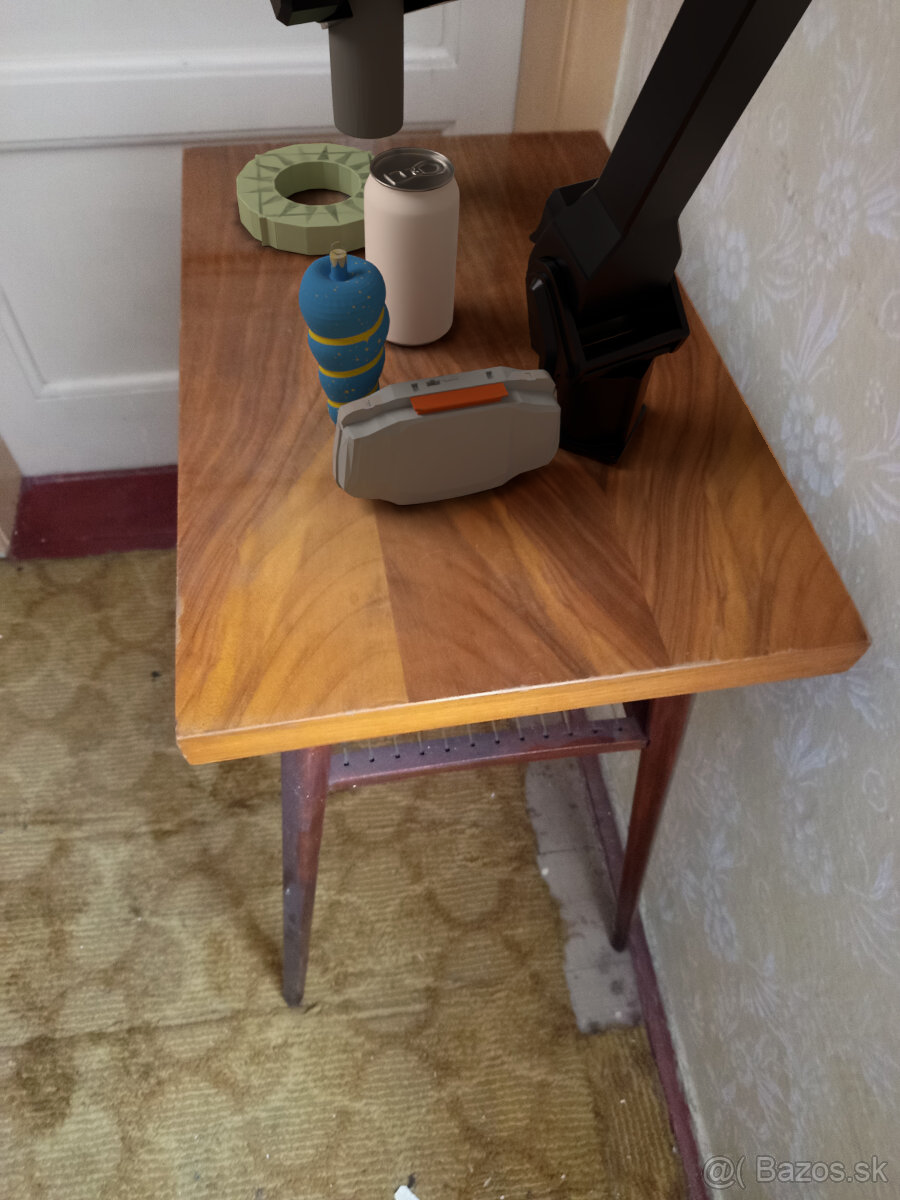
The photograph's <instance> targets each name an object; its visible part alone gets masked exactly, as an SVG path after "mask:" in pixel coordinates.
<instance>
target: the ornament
mask: <svg viewBox="0 0 900 1200" xmlns="http://www.w3.org/2000/svg"><path fill="white" fill-rule="evenodd" d="M335 243H341V242H335ZM333 244H334V243H333ZM333 244H332V245H333ZM341 244H343V243H341ZM343 246H344V244H343ZM331 250H332V246H331ZM344 250H345V246H344ZM344 250H342V249H335V250H332V251H331V253H330V254H328V255H325V256H322V257H319V258H317V259H315V260H314V261H313V262H312V263H311V264H310V265H309V266H308V267H307V269H306V270H305V272H304V274H303V275H302V278H301V282H300V286H299V291H298V305H299V310H300V313H301V316H302V318H303V320H304V322H305V324H306V326H307V327H308V332H307V344H308V347H309V349H310V351H311V354H312V355H313V357H314V359H315V360H316V362H317V363H318V365H319V366H318V379H319V383H320V385H321V387H322V390H323V391H324V394H325V395H326V397H327V402H326V408H327V412H328V415H329V418H330V419H331V421H332V423H333V424H334V425H335V426H336V424H337V417H338V410H339V408H340V407H341V406H342V405H346V404H348V403H350V402H353V401H356V400H359V399H362V398H365V397H367V396H369V395H371V394H373V393H375V392H377V391H379V390H381V389H380V387H381V386H380V380H379V379H380V377H381V375H382V373H383V370H384V367H385V362H386V346H385V343H386V342H387V341H386V338H387V335H388V332H389V326H390V317H389V311H388V308H387V306H386V304H385V299H386V286H385V282H384V279H383V276H382V274H381V273H380V271H379V270H378V268H377V267H376V266H375V265H374V264H373V263H371V262H369V261H367V260H366V259H364V258H362V257H359V256H355V255H353V254H347V253H348V252H346V251H344Z"/></svg>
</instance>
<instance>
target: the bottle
mask: <svg viewBox="0 0 900 1200" xmlns="http://www.w3.org/2000/svg"><path fill="white" fill-rule="evenodd" d="M348 1H349V4H350V7H351V10H352V13H353V18H351V19H349V20H347V21H344V22H342V23H340V24H338V25H335V26H333V27H331V28H328V29H327V33H328V34H327V35H328V46H329V47H328V49H329V51H328V52H329V67H330V83H331V101H332V114H333V123H334V126H335V128H336V129H337V130H338V132H340V133H342V134H344V135H345V136H348V137H351V138H354V139H360V140H361V139H362V140H378V139H379V140H380V139H384V138H388V137H391V136H394V135H395V134H397V133H399V132H400V131H401V130H402V128H403V126H404V117H405V115H404V114H405V113H404V112H405V111H404V110H405V106H404V105H405V15H404V0H348Z"/></svg>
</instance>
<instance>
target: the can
mask: <svg viewBox="0 0 900 1200" xmlns="http://www.w3.org/2000/svg"><path fill="white" fill-rule="evenodd" d="M374 156H375V157H374V158H373V160H372V161H371V163H370V167H369V169H370V175H369V177H368V179H367V181H366V184H365V187H364V223H365V247H364V250H365V251H364V253H365V254H364V255H365V260H367V261H369V262H371V263H373V264H374V265H375V266H376V267H377V268H378V270H379V271H380V273H381V274H382V276H383V279H384V282H385V286H386V299H385V304H386V306H387V308H388V311H389V317H390V326H389V332H388V335H387V338H386V341H385V342H388V343H391V344H393V345H397V346H402V347H422V346H425V345H429V344H432V343H434V342H436V341H438V340H439V339H441V338H443V336H445V335H447V333H448V332H449V331H450V329H451V327H452V325H453V321H454V308H455V307H454V306H455V291H456V275H457V258H458V257H457V255H458V239H459V223H460V222H459V221H460V197H461V196H460V188H459V185H458V182H457V180H456V178H455V173H456V168H455V165H454V163H453V162H452V160H451V159H450V158H449V157H447V156H446V155H445V154H443V153H441V152H438V151H436V150H434V149H430V148H426V147H421V146H420V147H419V146H400V147H399V146H398V147H395V148H389V149H386V150H385V151H382V152H380V153H378V154H376V155H374Z"/></svg>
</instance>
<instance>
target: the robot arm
mask: <svg viewBox="0 0 900 1200" xmlns="http://www.w3.org/2000/svg"><path fill="white" fill-rule="evenodd" d="M458 1H459V0H404V16H405V15H409V14H413V13H417V12H420V11H423V10H427V9H432V8H434V7H438V6H442V5H447V4H450V3H454V2H458ZM269 2H270V6H271V8H272V11H273V14H274V17H275V19H276V20H277V21H278V22H280V23H281V24H282V25H284V26H285V27H292V26H293V27H294V26H298V25H304V24H309V23H317V24H319V25H320V27H321V29H322V30H328V28H331V27H333V26H335V25H338V24H340V23H342V22H344V21H347V20H349V19H351V18H353V13H352V10H351V7H350V4H349V1H348V0H269ZM812 2H813V0H683V1H682V3H681V6H680V7H679V9H678V12H677V14H676V16H675V18H674V20H673V22H672V23H671V26H670V28H669V30H668V32H667V34H666V36H665V39H664V41H663V43H662V45H661V47H660V50H658V51H659V52H658V54H657V56H656V57H655V60H654V62H653V64H652V66H651V68H650V70H649V72H648V75H647V77H646V79H645V80H644V83H643V85H642V87H641V89H640V90H639V93H638V95H637V98H636V100H635V101H634V104H633V106H632V108H631V110H630V112H629V114H628V116H627V118H626V121H625V122H624V124H623V127H622V129H621V131H620V133H619V135H618V138H617V140H616V142H615V144H614V146H613V148H612V149H611V152H610V154H609V156H608V159H607V160H606V163H605V165H604V166H603V169H602V171H601V173H600V175H599V176H597V177H593V178H590V179H586V180H582V181H578V182H573V183H571V184H567V185H563V186H559V187H556V188H554V189H553V190H552V191H551V193H550V195H549V196H548V197H547V199H546V201H545V203H544V207H543V209H542V210H543V211H542V215H541V218H540V221H539V223H538V225H537V227H536V229H535V230H534V231H532V233H530V234H529V235H528V239H529V241H530V242H531V243H533V244H534V245H533V246H532V248H531V251H530V253H529V258H528V260H527V270H526V273H525V278H524V280H525V281H524V283H525V294H526V309H527V322H528V323H527V324H528V337H529V342H530V344H529V345H530V348H531V350H532V351H533V352H534V353H535V354H536V355H537V356H538V364H537V370H545V371H547V372H548V373H549V374H550V376H551V378H552V380H553V381H554V383H555V385H556V386H555V388H556V390H557V403H558V404H559V406H560V408H561V412H560V434H559V445H558V447H561V448H565V449H567V450H570V451H573V452H575V453H577V454H581V455H583V456H586V457H589V458H591V459H594V460H597V461H600V462H603V463H606V464H608V465H611V466H613V465H617V464H619V462H620V461H621V459H622V458H623V455H624V453H625V452H626V450H627V448H628V447H629V444H630V442H631V441H632V439H633V437H634V435H635V434H636V431H637V430H638V428H639V425H640V424H641V422H642V420H643V418H644V417H645V415H646V413H647V410H648V409H647V408H648V406H647V404H646V403H644V402H645V398H646V394H647V392H648V391H647V390H648V388H649V384H650V381H651V380H650V379H651V376H652V373H653V369H654V365H655V362H656V358H657V357H661V356H663V355H667V354H674V353H677V352H678V351H679V350H680V349H681V347H682V346H683V345H684V343H685V342H686V341H687V340H688V338H689V336H690V335H691V328H690V325H689V321H688V317H687V314H686V313H687V312H686V310H685V306H684V303H683V299H682V295H681V291H680V287H679V284H678V280H677V277H676V272H675V271H676V269H677V267H678V264H679V262H680V260H681V258H682V254H683V250H684V249H683V242H682V235H681V228H680V221H679V219H680V217H681V215H682V213H683V211H684V210H685V208H686V206H687V204H688V203H689V201H690V199H691V198H692V196H693V195H694V193H695V191H696V190H697V189H698V187H699V185H700V184H701V182H702V180H703V179H704V177H705V175H706V174H707V172H708V170H709V169H710V168H711V166H712V164H713V162H714V161H715V159H716V157H717V156H718V154H719V153H720V151H721V149H722V147H724V144H725V143H726V141H727V139H729V136H730V135H731V133H732V132H733V130H734V129H735V127H736V126H737V123H738V122H739V120H740V119H741V117H742V115H743V113H745V110H746V109H747V107H748V106H749V104H750V103H751V101H752V99H753V97H754V96H755V95H756V93H757V91H758V89H759V88H760V86H761V84H762V83H763V81H764V80H765V78H766V76H767V75H768V73H769V71H770V70H771V68H772V66H773V65H774V64H775V62H776V60H777V58H778V57H779V55H780V53H781V52H782V50H783V49H784V47H785V45H786V44H787V42H788V40H790V37H791V35H793V32H794V31H795V29H796V27H797V26H798V24H799V23H800V21H801V20H802V18H803V16H804V15H805V13H806V11H807V10H808V8H809V6H810V5H811V3H812Z"/></svg>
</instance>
